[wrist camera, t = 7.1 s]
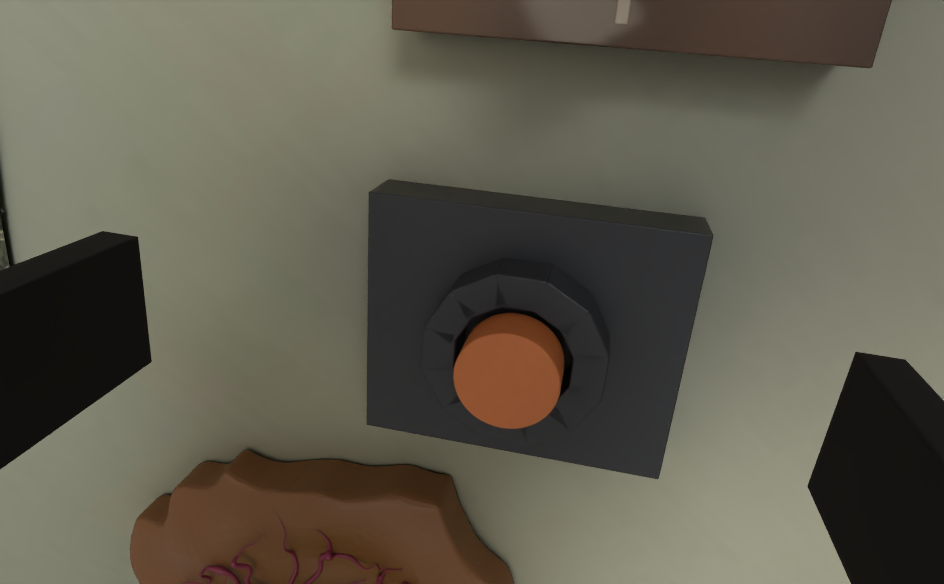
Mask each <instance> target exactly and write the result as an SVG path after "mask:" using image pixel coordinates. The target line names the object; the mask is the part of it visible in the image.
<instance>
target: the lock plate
mask: <svg viewBox="0 0 944 584" xmlns="http://www.w3.org/2000/svg"><path fill="white" fill-rule="evenodd" d="M891 1H892V0H392V29H393V30H405V31H417V32H430V33H442V34H454V35H467V36H479V37H491V38H503V39H516V40H528V41H540V42H553V43H565V44H577V45H590V46H602V47H614V48H626V49H639V50H651V51H663V52H676V53H688V54H700V55H713V56H725V57H737V58H750V59H762V60H774V61H786V62H799V63H811V64H823V65H836V66H848V67H860V68H872V66H873V62H874V59H875V55H876V52H877V49H878V45H879V42H880V38H881V35H882V32H883V28H884V25H885V21H886V18H887V15H888V11H889V8H890V4H891Z"/></svg>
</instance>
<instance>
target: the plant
mask: <svg viewBox="0 0 944 584" xmlns="http://www.w3.org/2000/svg"><path fill="white" fill-rule="evenodd" d="M130 559H131V564H132V568H133V571H134V573H135V575H136V577H137V579H138V581H139V583H140V584H514V582H513V578H512V575H511V572H510V570H509V567H508V566H507V565H506V564H505V563H504V562H503V561H502V560H500V559H499V558H498V557H497V556H496V555H494V554H493V553H492V552H491V551H490V550H489V549H488V548H487V547H486V546H485V545H484V544H483V543H482V542H481V541H480V540H479V539H478V537H477V536H476V534H475V533H474V531H473V529H472V527H471V526H470V524H469V522H468V520H467V518H466V515H465V513H464V511H463V508H462V506H461V504H460V502H459V500H458V497H457V494H456V491H455V488H454V485H453V482H452V479H451V476H450V475H445V474H438V473H433V472H430V471H426V470H424V469H421V468H418V467H415V466H410V465H394V466H376V467H369V466H364V465H358V464H354V463H351V462H346V461H343V460H333V459H323V460H305V461H298V462H290V463H285V462H277V461H273V460H269V459H266V458H264V457H261V456H259V455H257V454H255V453H253V452H251V451H249V450H244V451H243V452H241V453H240V454H239V455H238V456H237V457H236V458H235V459H234V461H233V462H232V463H229V464H224V463H216V462H210V461H205V462H202V463H200V464H199V465H198V466H197V467H196V468H195V469H194V470H193V471H192V472H191V473H190V474H189V475H188V476H187V477H186V478H185V479H184V480H183V481H182V482H181V483H180V484H179V485H178V486H177V487H176V488H175V489H174V490H173V492H172V495H171V496H170V495H162V496H160V497H158V498H157V499H156V500H155V501H154V502H153V503H152V504H151V505H150V506H149V507H148V508H147V509H146V510H145V511H144V512H142V513H141V514H140V515H139V517H138V518H137V519H136V522H135V525H134V528H133V532H132V535H131V543H130Z"/></svg>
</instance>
